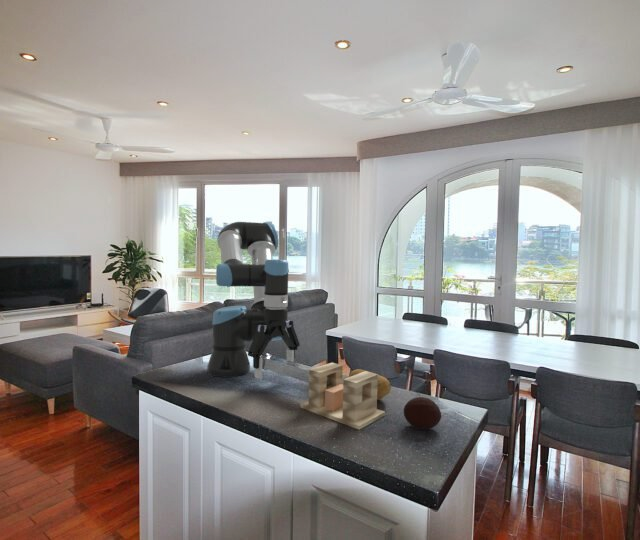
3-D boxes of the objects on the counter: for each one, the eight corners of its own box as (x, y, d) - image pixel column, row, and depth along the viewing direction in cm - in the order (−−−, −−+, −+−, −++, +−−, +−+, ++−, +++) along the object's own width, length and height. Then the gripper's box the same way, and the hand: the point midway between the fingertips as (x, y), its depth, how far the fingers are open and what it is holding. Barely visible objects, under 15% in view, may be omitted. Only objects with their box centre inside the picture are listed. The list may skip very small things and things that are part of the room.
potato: (378, 410, 109) (378, 381, 108) (341, 396, 119) (341, 370, 119) (398, 401, 116) (399, 374, 115) (361, 388, 126) (362, 364, 125)
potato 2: (402, 419, 103) (403, 390, 102) (439, 423, 101) (440, 393, 101) (403, 433, 95) (404, 402, 95) (442, 437, 93) (444, 405, 93)
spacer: (325, 390, 106) (333, 392, 105) (340, 383, 112) (349, 386, 110) (324, 407, 107) (333, 411, 105) (340, 401, 112) (348, 403, 110)
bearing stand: (300, 407, 109) (301, 368, 109) (328, 396, 118) (329, 360, 118) (359, 429, 96) (360, 385, 96) (384, 415, 105) (386, 375, 105)
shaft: (258, 370, 126) (258, 354, 126) (270, 367, 130) (270, 352, 130) (319, 390, 109) (319, 372, 109) (331, 386, 113) (331, 368, 113)
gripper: (252, 313, 112) (251, 385, 113) (310, 305, 131) (309, 367, 132) (236, 310, 117) (235, 379, 118) (295, 303, 136) (293, 363, 137)
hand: (274, 373), depth 125 cm, fingers open, 13 cm apart
